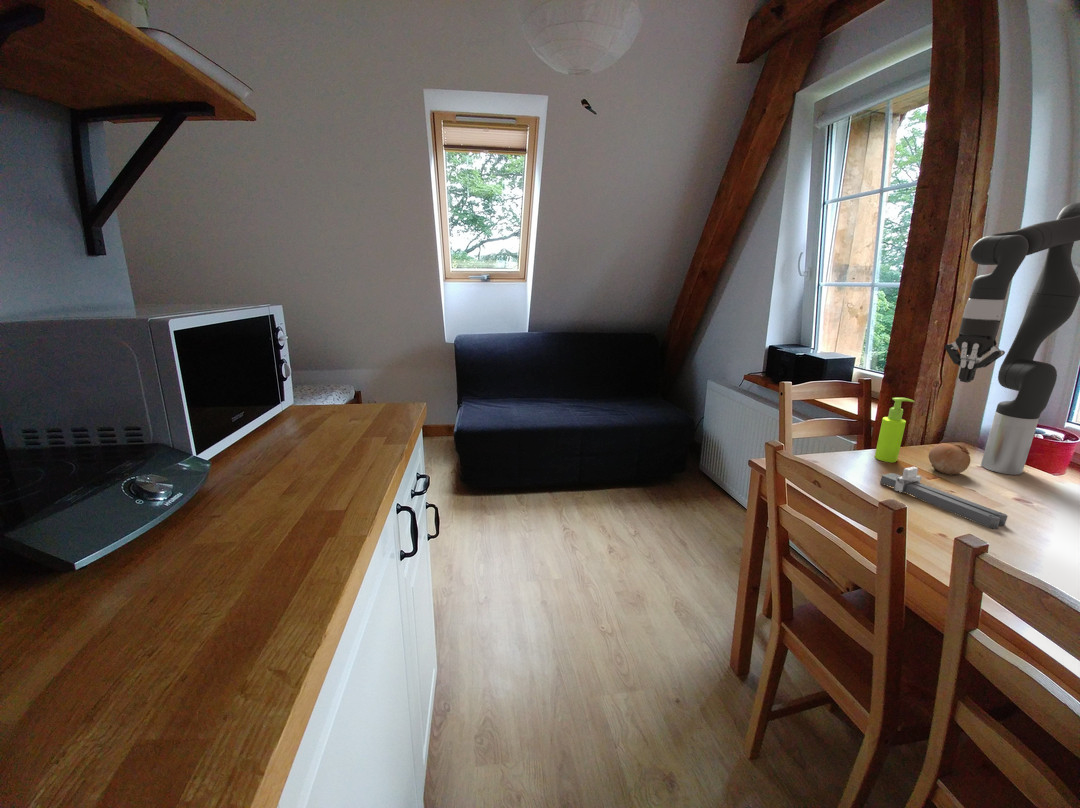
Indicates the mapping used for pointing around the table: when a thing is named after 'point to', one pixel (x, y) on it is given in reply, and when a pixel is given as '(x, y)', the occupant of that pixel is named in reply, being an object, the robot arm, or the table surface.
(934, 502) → the base
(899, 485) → the rail slider block
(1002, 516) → the bar
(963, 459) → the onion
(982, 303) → the robot arm
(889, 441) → the soap dispenser
